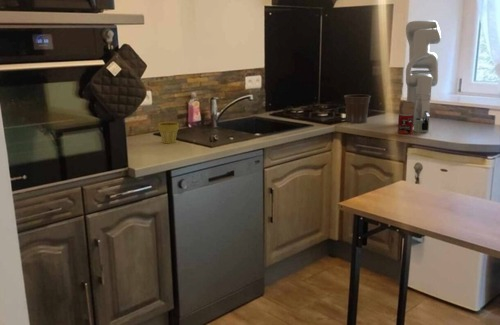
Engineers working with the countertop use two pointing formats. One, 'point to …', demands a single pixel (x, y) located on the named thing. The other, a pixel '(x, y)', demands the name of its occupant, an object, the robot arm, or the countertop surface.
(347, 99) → the plant pot
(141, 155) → the countertop surface
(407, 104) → the cube walnut
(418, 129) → the cube sage
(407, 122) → the canned food
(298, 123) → the countertop surface
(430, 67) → the robot arm
